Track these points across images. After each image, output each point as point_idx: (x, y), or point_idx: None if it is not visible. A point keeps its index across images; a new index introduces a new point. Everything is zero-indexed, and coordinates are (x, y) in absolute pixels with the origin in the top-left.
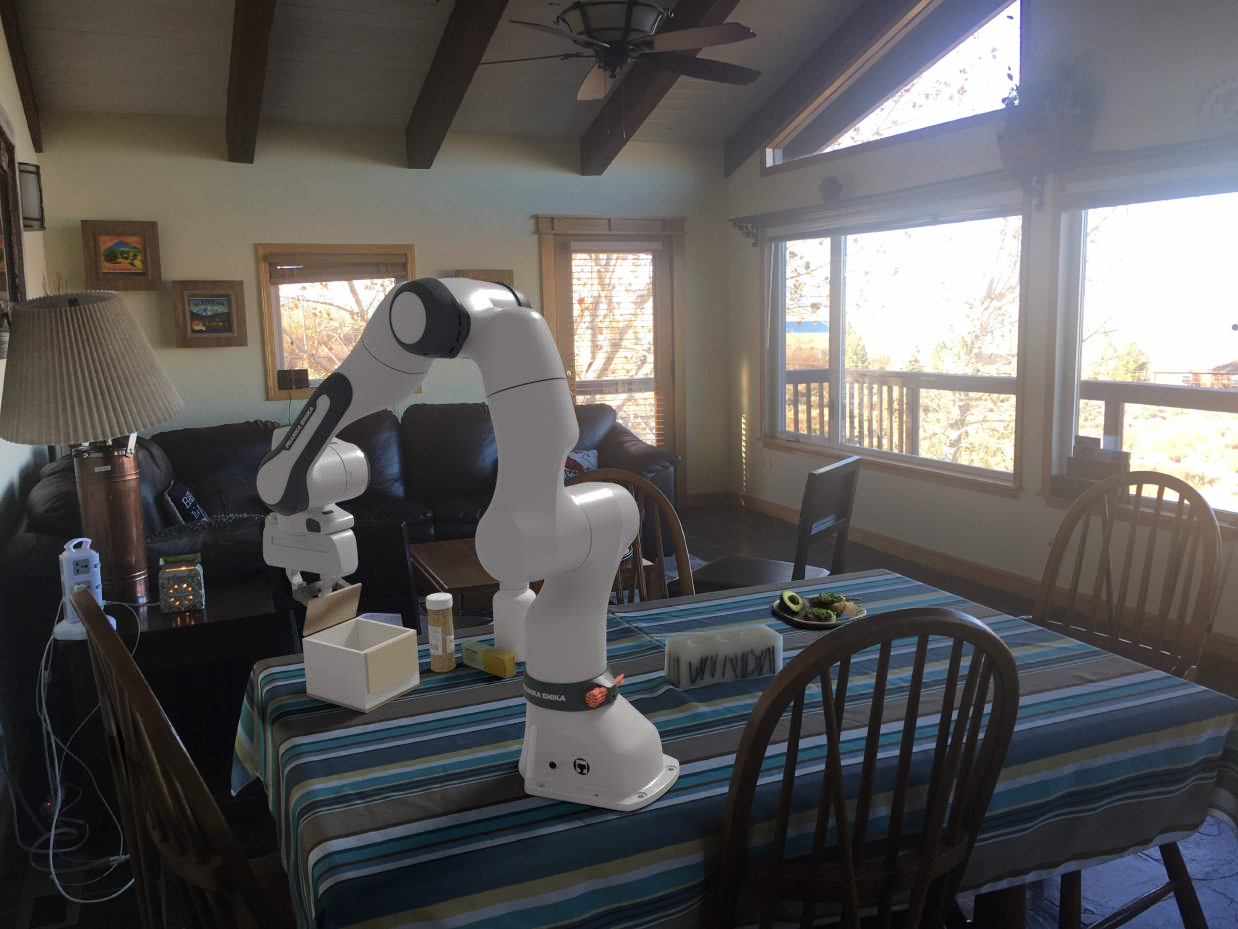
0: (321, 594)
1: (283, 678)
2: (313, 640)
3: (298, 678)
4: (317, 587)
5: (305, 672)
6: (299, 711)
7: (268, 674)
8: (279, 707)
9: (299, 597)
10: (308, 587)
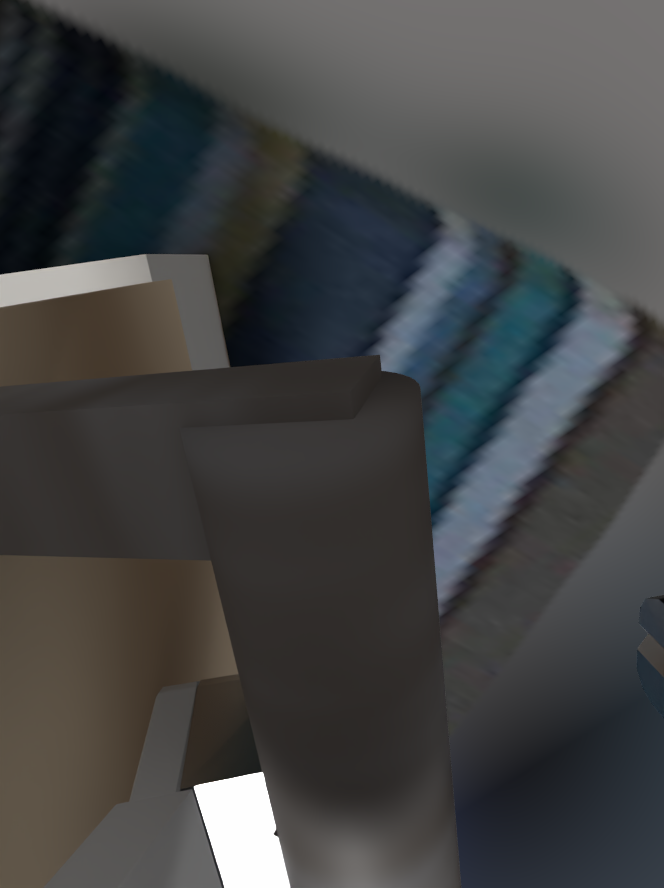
0: (199, 709)
1: (480, 302)
2: (27, 291)
3: (422, 344)
4: (266, 781)
5: (190, 255)
6: (65, 122)
7: (577, 285)
8: (188, 86)
9: (187, 390)
10: (272, 678)
